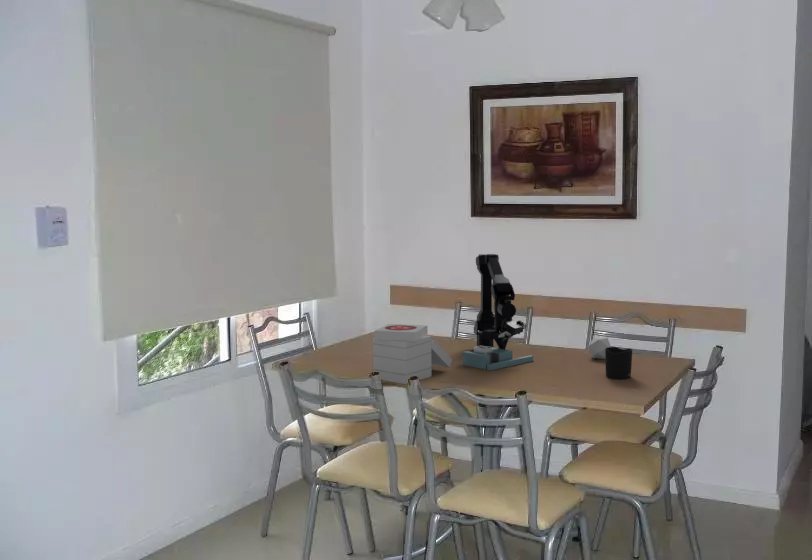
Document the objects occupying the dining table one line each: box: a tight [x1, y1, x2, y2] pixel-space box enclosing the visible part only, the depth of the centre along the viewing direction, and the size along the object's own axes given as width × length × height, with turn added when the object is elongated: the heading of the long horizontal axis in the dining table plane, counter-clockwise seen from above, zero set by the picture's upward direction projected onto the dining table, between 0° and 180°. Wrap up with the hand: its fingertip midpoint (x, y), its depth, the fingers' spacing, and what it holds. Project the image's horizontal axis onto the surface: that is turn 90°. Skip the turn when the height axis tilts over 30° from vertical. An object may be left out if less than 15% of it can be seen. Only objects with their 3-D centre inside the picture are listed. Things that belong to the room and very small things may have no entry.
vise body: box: [462, 350, 534, 371], centre depth 346 cm, size 14×24×5 cm, turn 132°
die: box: [587, 336, 612, 360], centre depth 353 cm, size 8×9×10 cm
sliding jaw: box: [492, 346, 513, 363], centre depth 346 cm, size 12×8×5 cm, turn 42°
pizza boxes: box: [372, 323, 454, 385], centre depth 327 cm, size 19×30×18 cm, turn 141°
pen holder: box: [604, 346, 633, 380], centre depth 321 cm, size 9×9×10 cm
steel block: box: [473, 345, 492, 364], centre depth 342 cm, size 6×4×7 cm, turn 42°
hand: (502, 353), depth 350 cm, fingers closed
